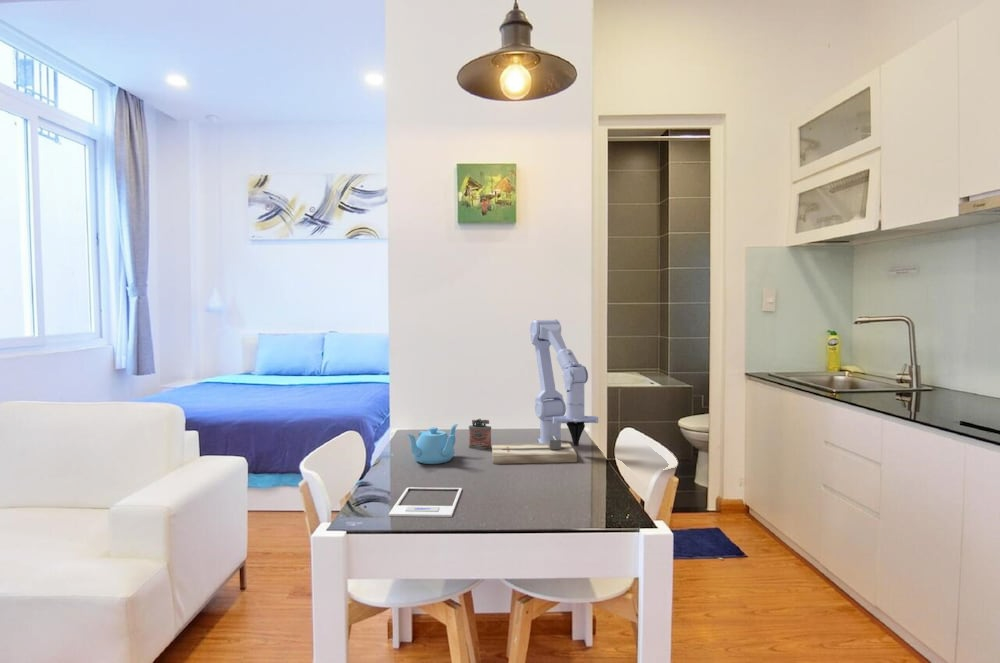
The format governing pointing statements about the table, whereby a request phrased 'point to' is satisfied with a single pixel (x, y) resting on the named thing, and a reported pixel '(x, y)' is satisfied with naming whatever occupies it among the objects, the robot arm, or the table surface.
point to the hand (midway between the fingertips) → (575, 445)
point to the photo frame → (424, 510)
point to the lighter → (480, 435)
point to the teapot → (433, 446)
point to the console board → (532, 453)
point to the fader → (554, 442)
